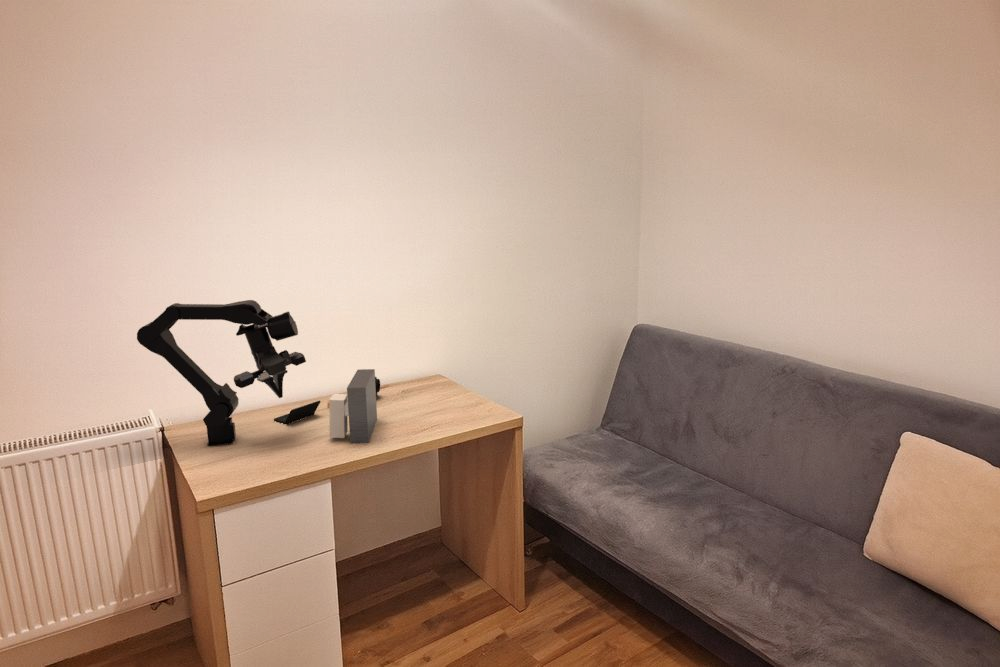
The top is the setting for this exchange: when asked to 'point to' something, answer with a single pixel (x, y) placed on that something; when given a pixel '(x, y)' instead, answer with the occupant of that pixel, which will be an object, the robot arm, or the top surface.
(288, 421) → the handheld gaming console
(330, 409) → the block
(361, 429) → the rail board
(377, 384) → the digital camera
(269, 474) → the top surface
